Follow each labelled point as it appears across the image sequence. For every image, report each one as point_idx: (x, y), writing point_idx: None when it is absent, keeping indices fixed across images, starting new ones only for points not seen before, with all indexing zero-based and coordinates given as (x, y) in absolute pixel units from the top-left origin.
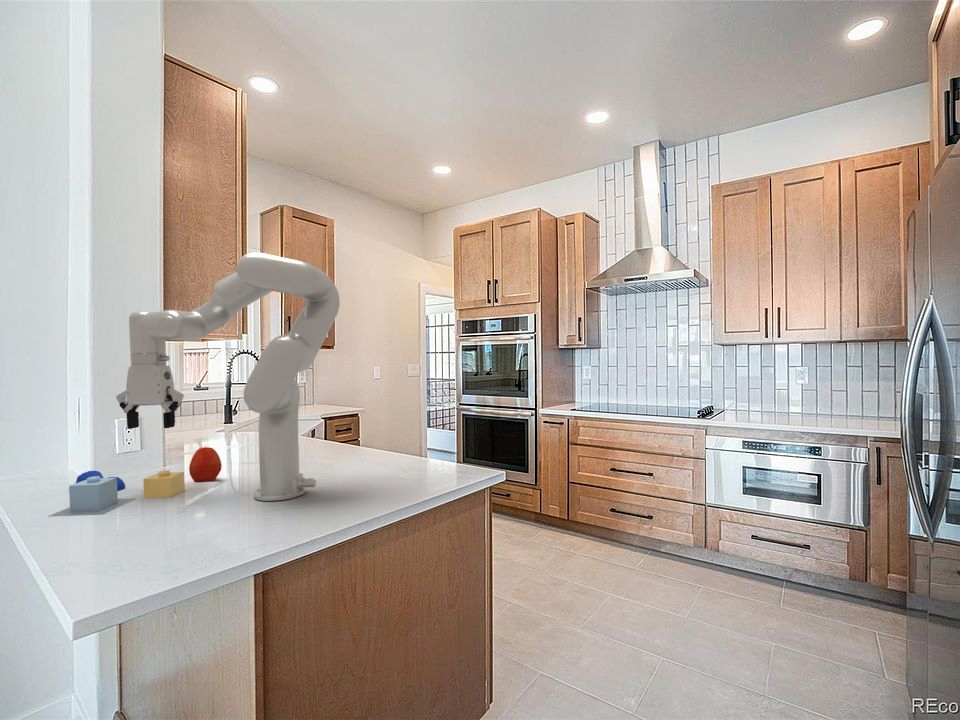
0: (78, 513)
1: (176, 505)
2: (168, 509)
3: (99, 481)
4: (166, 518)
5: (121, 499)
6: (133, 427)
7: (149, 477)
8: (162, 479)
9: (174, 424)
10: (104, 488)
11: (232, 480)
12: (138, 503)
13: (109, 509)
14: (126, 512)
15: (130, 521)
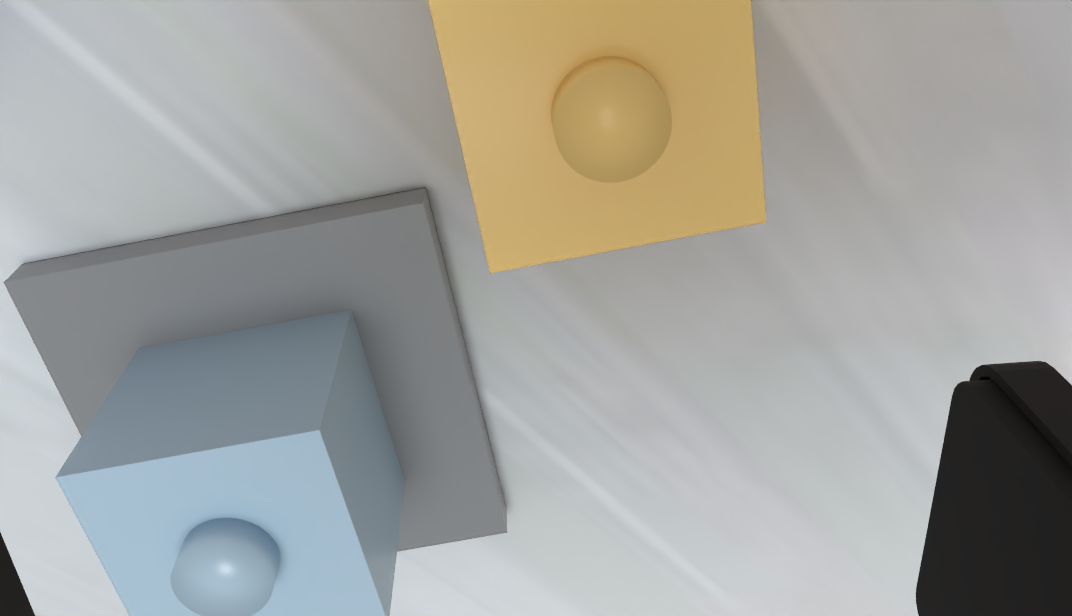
0: None
1: (817, 215)
2: (814, 304)
3: (286, 548)
4: (916, 455)
5: (309, 244)
6: (25, 602)
7: (502, 208)
8: (686, 233)
9: (1062, 389)
10: (375, 531)
11: None
12: (442, 192)
13: (457, 454)
14: (539, 384)
15: (714, 515)
